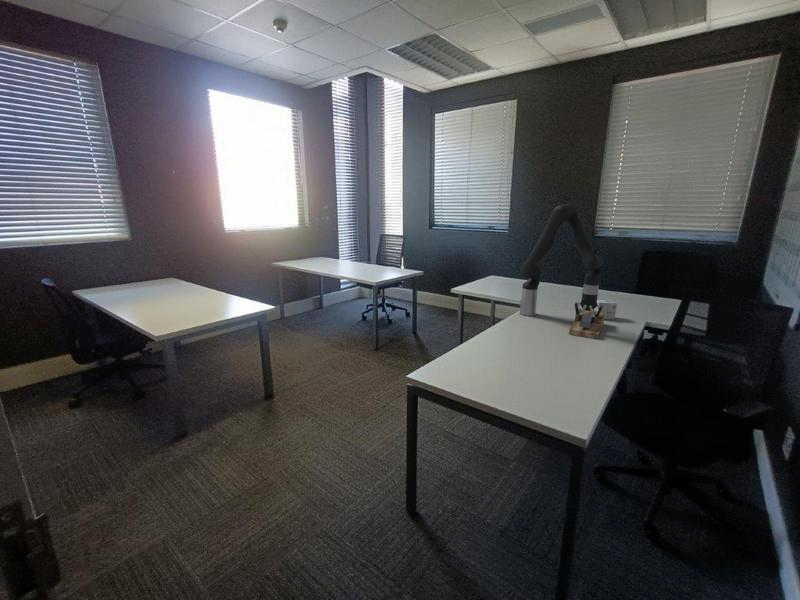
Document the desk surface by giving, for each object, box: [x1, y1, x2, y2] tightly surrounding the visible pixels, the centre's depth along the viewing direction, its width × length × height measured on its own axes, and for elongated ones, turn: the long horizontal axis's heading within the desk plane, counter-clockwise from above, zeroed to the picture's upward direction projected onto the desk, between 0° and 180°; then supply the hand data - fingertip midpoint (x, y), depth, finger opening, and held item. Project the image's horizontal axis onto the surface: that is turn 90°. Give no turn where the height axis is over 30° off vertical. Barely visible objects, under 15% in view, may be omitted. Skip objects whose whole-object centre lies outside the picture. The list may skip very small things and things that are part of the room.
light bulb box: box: [594, 299, 618, 320], centre depth 226 cm, size 11×7×11 cm, turn 84°
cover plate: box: [579, 315, 592, 328], centre depth 202 cm, size 5×14×3 cm, turn 147°
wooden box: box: [568, 308, 605, 340], centre depth 207 cm, size 14×30×7 cm, turn 147°
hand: (586, 322), depth 202 cm, fingers closed on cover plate, 5 cm apart
